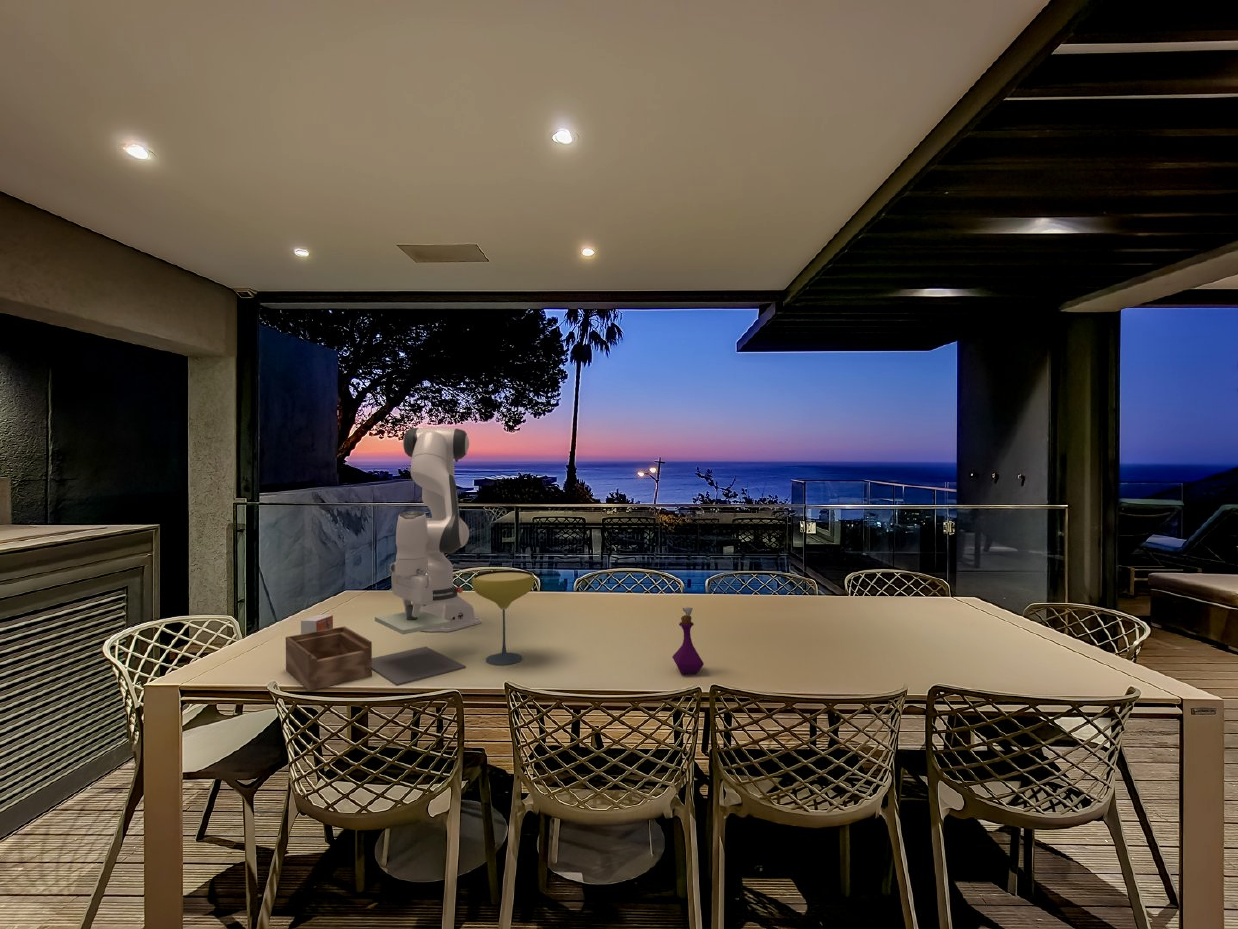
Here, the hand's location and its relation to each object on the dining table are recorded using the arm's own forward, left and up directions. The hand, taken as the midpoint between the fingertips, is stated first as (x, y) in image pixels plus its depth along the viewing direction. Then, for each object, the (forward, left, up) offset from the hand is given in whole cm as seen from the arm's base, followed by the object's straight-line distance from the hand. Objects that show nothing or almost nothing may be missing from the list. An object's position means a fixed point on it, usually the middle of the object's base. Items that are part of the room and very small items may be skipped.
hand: (412, 615), depth 174 cm
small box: (+16, -34, -15) cm, 40 cm away
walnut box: (+20, -10, -14) cm, 27 cm away
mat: (0, 0, -14) cm, 14 cm away
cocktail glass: (-22, +14, -15) cm, 30 cm away
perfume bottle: (-53, +59, -15) cm, 81 cm away
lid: (0, 0, -2) cm, 2 cm away
